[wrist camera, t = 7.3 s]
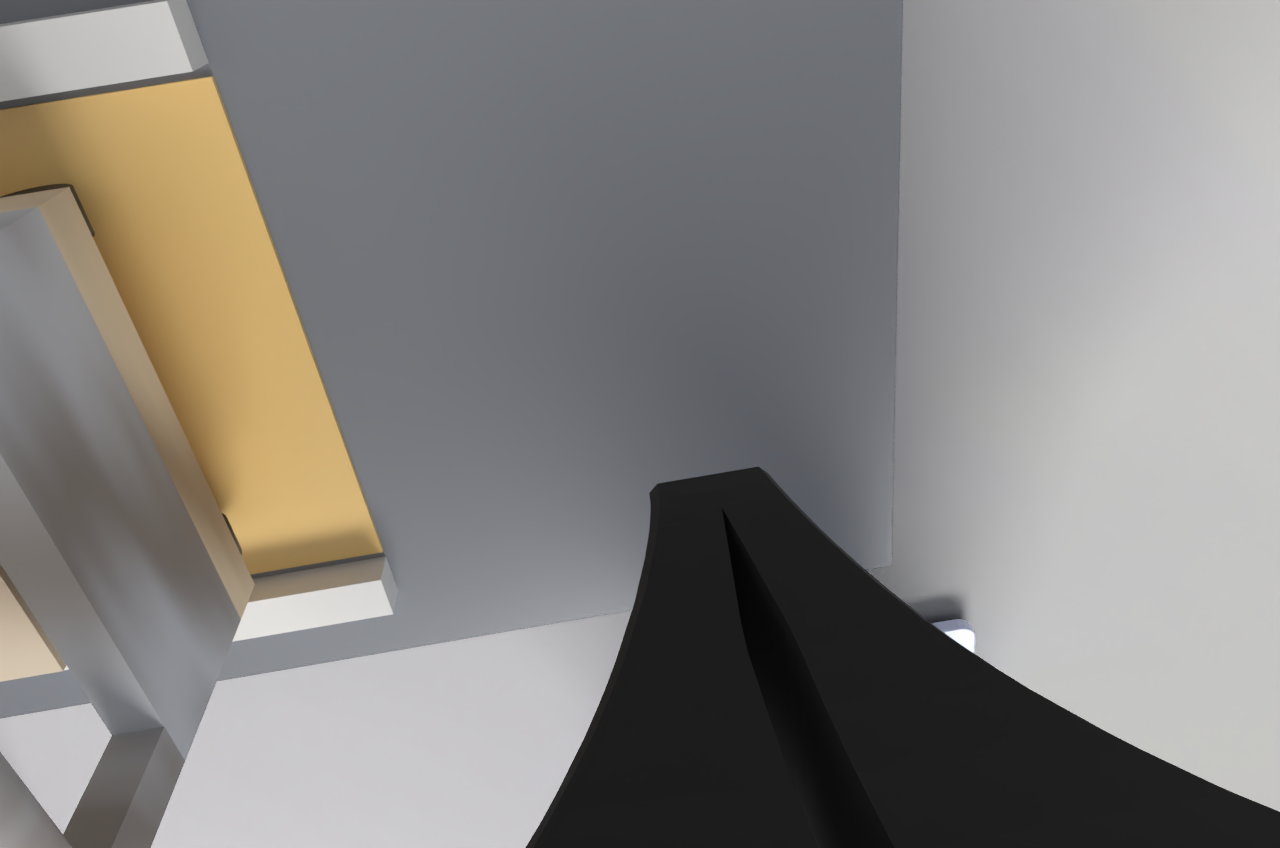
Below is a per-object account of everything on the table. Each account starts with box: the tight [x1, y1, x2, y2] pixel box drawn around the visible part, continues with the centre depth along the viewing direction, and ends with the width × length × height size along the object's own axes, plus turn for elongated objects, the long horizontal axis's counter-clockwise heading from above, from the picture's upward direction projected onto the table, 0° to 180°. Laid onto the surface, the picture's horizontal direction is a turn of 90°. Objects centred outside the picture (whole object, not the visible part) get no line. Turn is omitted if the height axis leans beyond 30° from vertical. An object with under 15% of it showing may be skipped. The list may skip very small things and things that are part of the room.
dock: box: [0, 0, 903, 718], centre depth 18 cm, size 16×22×3 cm
